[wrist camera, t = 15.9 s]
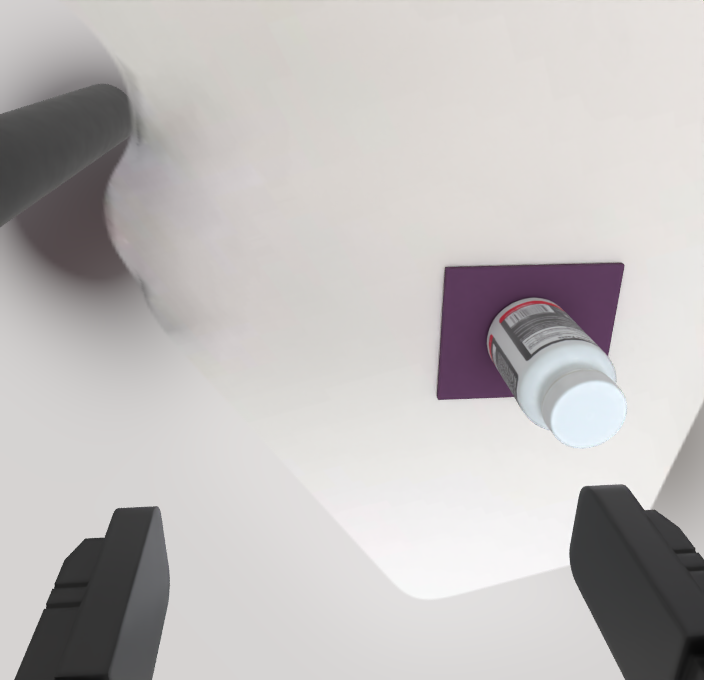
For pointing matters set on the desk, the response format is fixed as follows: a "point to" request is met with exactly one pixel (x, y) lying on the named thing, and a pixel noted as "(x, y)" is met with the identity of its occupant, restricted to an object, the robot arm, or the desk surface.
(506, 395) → the mat
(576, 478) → the desk surface
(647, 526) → the robot arm
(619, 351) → the desk surface
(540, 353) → the pill bottle
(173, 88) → the desk surface
